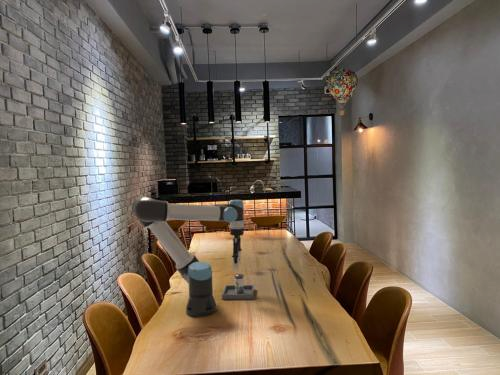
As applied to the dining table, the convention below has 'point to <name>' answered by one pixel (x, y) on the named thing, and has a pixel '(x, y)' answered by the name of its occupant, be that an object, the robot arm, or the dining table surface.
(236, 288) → the shaker
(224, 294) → the tray
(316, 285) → the dining table surface
